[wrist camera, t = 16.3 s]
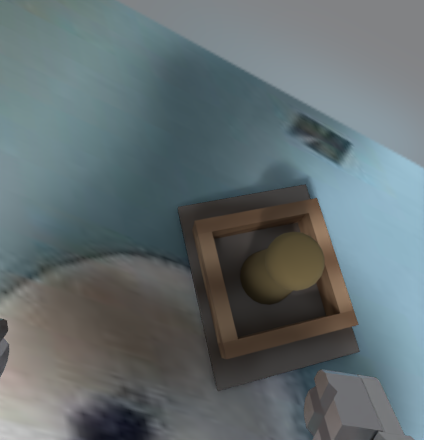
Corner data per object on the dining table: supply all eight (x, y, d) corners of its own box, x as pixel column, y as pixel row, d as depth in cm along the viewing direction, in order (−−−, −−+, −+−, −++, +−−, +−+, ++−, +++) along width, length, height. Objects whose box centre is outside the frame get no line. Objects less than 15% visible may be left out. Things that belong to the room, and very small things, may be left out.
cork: (296, 258, 43) (340, 233, 33) (287, 311, 41) (330, 301, 31) (246, 244, 43) (274, 214, 33) (234, 296, 41) (259, 281, 31)
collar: (355, 351, 42) (377, 352, 38) (217, 389, 39) (224, 395, 35) (302, 187, 47) (316, 172, 43) (177, 209, 44) (179, 195, 40)
